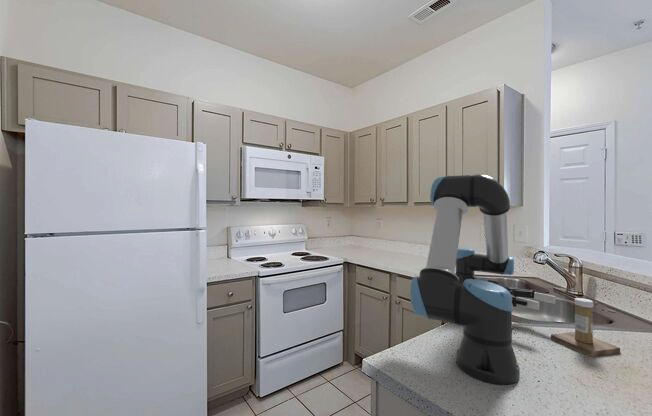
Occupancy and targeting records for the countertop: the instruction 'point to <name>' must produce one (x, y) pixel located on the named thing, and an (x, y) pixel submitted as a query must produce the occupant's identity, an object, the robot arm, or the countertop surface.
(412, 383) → the countertop surface
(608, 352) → the walnut board
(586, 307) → the sprinkles bottle
